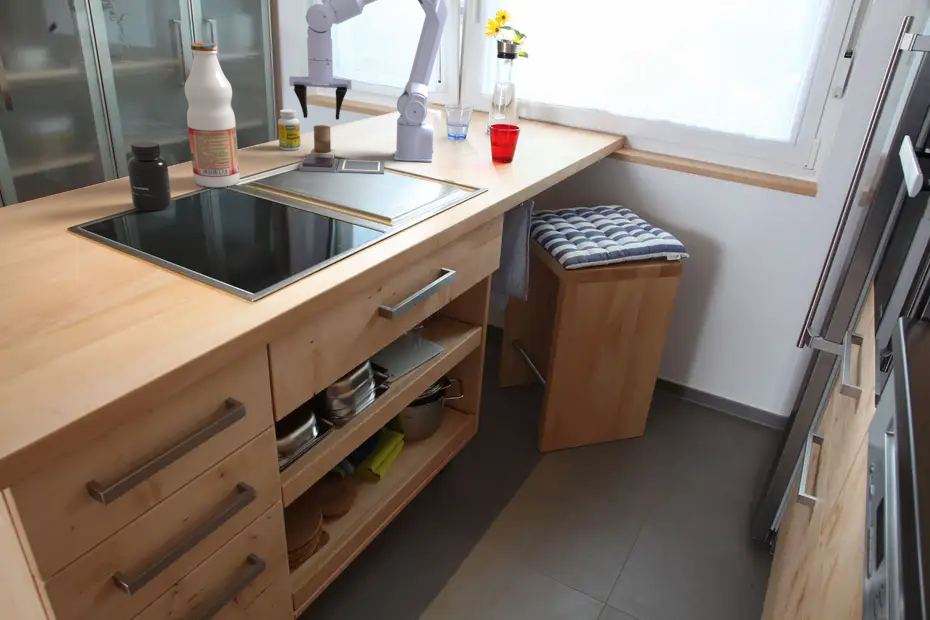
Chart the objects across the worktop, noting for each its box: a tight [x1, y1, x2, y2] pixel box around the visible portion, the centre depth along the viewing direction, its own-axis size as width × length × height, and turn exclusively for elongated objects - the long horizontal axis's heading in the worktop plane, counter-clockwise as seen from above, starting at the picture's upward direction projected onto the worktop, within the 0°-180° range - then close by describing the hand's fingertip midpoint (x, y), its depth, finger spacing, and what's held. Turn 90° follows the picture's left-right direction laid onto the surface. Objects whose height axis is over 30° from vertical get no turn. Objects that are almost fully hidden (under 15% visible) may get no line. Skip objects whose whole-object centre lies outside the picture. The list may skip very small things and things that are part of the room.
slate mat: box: [336, 158, 385, 175], centre depth 166 cm, size 11×11×1 cm
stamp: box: [309, 124, 336, 159], centre depth 170 cm, size 6×6×8 cm
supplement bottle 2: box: [277, 108, 301, 151], centre depth 175 cm, size 5×5×10 cm
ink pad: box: [299, 156, 338, 173], centre depth 163 cm, size 8×7×2 cm
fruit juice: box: [184, 42, 241, 188], centre depth 141 cm, size 9×9×28 cm
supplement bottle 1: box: [127, 140, 172, 212], centre depth 128 cm, size 7×7×12 cm
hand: (321, 117), depth 167 cm, fingers open, 7 cm apart
